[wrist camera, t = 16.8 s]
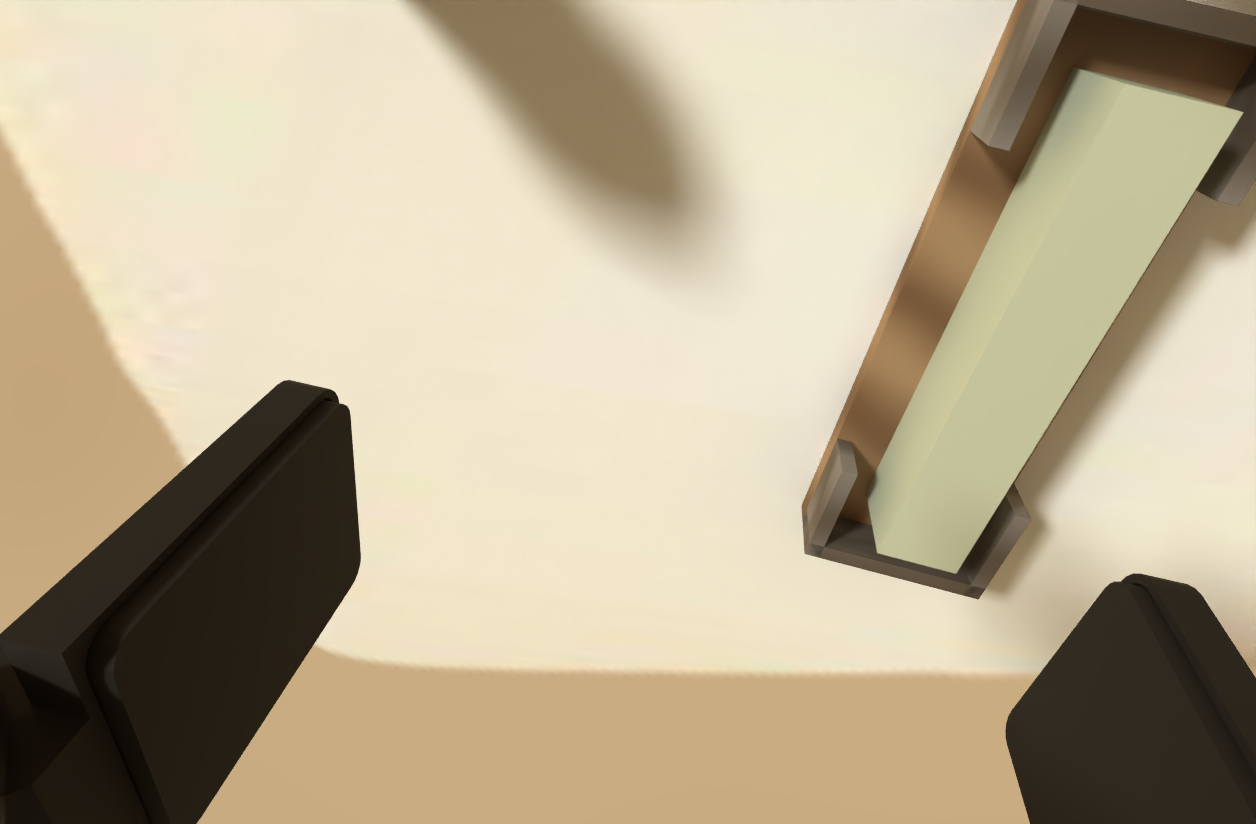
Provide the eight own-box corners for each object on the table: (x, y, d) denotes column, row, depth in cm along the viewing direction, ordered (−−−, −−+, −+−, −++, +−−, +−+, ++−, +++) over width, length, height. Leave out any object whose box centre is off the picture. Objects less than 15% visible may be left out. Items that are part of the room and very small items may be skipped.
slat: (1072, 66, 29) (1125, 84, 25) (1173, 91, 29) (1243, 112, 24) (865, 492, 41) (877, 553, 36) (936, 510, 40) (955, 573, 36)
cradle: (1029, -28, 28) (1066, -28, 25) (1275, 29, 28) (1348, 38, 25) (801, 505, 43) (804, 553, 40) (960, 547, 43) (978, 599, 39)
